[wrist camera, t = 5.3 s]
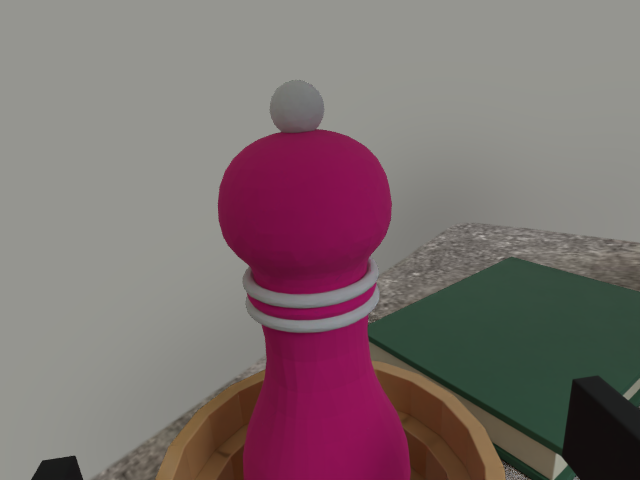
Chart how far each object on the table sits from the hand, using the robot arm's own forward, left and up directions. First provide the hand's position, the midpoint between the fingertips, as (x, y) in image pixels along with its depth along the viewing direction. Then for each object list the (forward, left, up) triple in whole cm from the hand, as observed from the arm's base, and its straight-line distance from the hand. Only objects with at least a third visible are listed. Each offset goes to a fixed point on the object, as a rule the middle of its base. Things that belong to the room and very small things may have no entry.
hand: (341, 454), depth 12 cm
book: (-23, -7, -11) cm, 26 cm away
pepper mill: (-3, -5, -11) cm, 12 cm away
